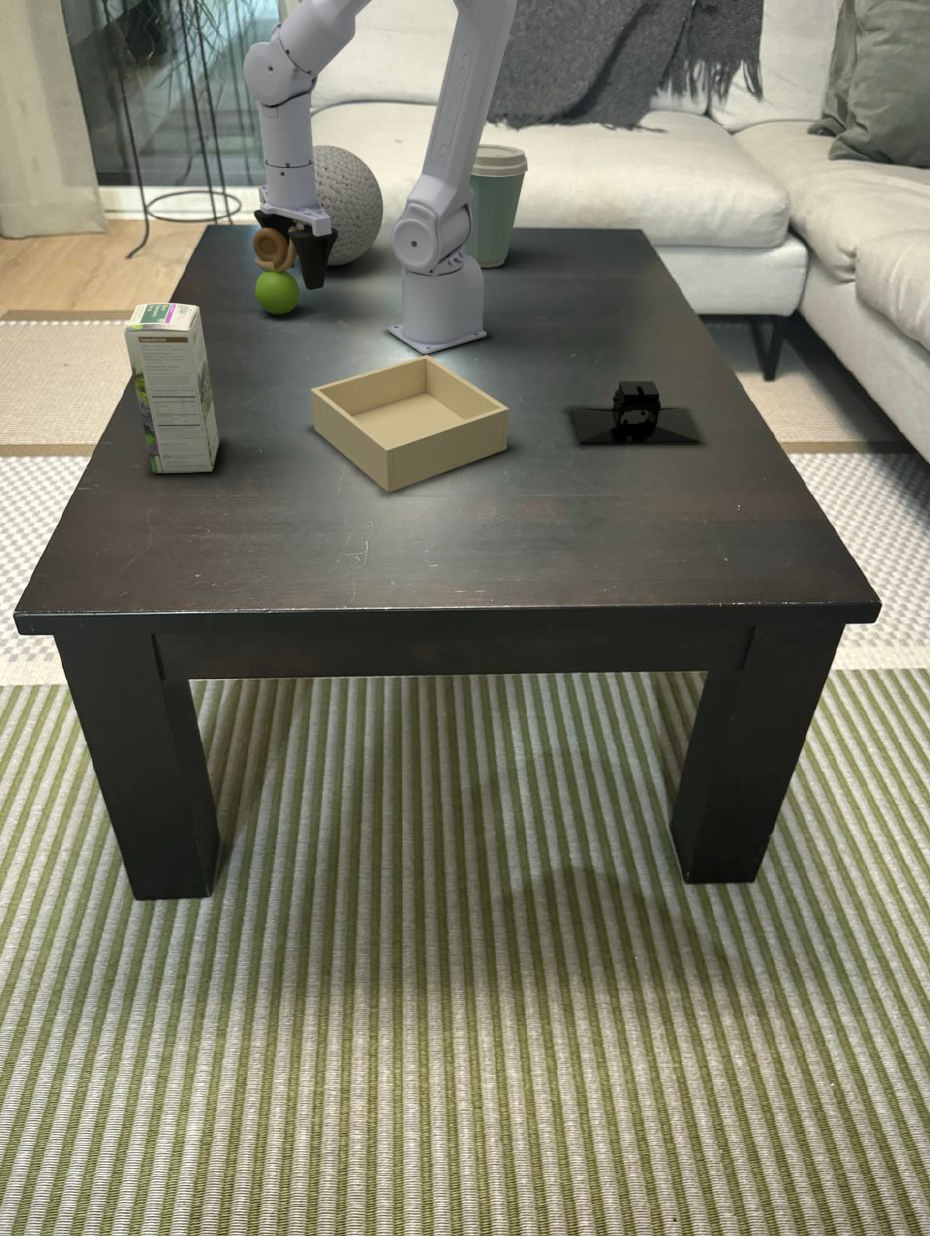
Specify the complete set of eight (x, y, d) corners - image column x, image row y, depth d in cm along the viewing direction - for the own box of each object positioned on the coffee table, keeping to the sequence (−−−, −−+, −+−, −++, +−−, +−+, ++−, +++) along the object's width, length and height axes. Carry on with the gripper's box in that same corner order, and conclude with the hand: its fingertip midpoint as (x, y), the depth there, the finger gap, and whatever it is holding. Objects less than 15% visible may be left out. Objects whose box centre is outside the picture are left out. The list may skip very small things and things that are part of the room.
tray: (427, 393, 101) (427, 354, 98) (506, 449, 93) (509, 408, 89) (314, 429, 94) (310, 388, 91) (388, 493, 86) (386, 450, 83)
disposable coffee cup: (440, 249, 135) (441, 137, 125) (510, 245, 137) (517, 135, 127) (457, 276, 127) (460, 159, 117) (531, 271, 129) (540, 156, 119)
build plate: (579, 446, 94) (584, 405, 91) (569, 411, 99) (573, 371, 96) (698, 444, 94) (707, 403, 91) (682, 409, 100) (689, 369, 97)
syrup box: (162, 443, 92) (131, 302, 82) (222, 442, 92) (198, 301, 83) (153, 474, 87) (119, 329, 78) (215, 473, 88) (190, 328, 78)
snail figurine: (300, 324, 114) (290, 224, 106) (251, 319, 115) (238, 219, 107) (314, 307, 118) (306, 210, 110) (267, 302, 119) (255, 205, 111)
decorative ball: (406, 260, 131) (404, 146, 121) (333, 291, 122) (324, 170, 112) (331, 236, 138) (323, 126, 128) (256, 263, 129) (241, 147, 119)
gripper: (230, 150, 108) (245, 265, 117) (287, 182, 100) (299, 304, 109) (283, 142, 112) (294, 255, 121) (343, 173, 103) (350, 291, 112)
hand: (300, 277), depth 115 cm, fingers open, 7 cm apart
